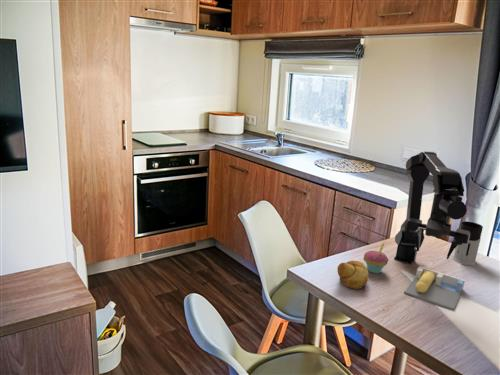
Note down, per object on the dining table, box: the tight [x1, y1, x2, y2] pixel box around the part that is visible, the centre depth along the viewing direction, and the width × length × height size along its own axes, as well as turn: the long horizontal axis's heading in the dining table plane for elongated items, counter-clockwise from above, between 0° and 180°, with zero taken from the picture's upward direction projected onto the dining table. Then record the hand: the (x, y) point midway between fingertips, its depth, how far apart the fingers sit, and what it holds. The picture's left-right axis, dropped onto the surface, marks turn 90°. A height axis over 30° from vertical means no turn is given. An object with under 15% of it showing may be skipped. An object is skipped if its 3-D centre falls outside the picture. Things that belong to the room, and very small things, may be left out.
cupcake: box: [362, 241, 389, 274], centre depth 151 cm, size 9×8×12 cm
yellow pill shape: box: [416, 271, 434, 293], centre depth 142 cm, size 14×4×4 cm, turn 145°
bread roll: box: [337, 259, 370, 290], centre depth 142 cm, size 13×10×8 cm
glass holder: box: [451, 221, 484, 266], centre depth 164 cm, size 9×14×15 cm, turn 133°
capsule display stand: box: [403, 265, 466, 311], centre depth 141 cm, size 15×17×4 cm
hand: (432, 254), depth 139 cm, fingers open, 9 cm apart
